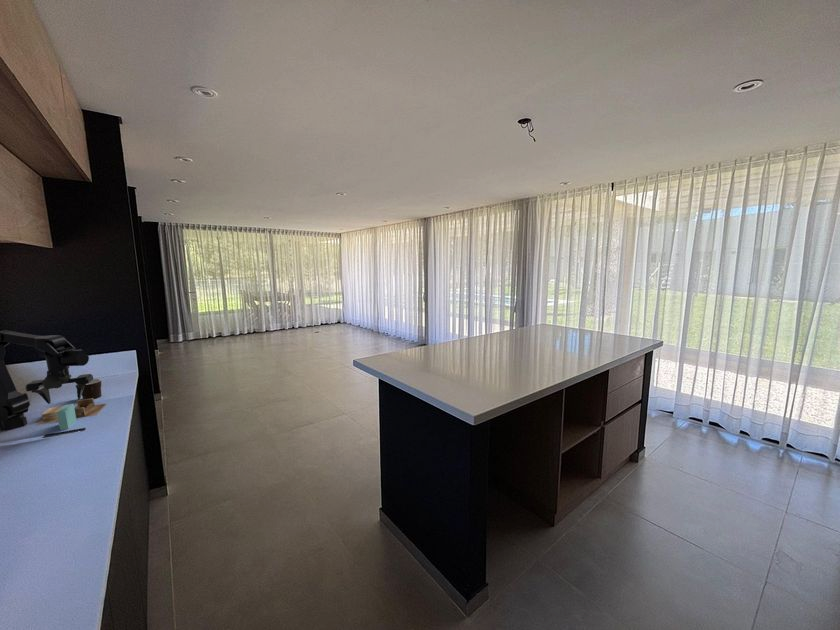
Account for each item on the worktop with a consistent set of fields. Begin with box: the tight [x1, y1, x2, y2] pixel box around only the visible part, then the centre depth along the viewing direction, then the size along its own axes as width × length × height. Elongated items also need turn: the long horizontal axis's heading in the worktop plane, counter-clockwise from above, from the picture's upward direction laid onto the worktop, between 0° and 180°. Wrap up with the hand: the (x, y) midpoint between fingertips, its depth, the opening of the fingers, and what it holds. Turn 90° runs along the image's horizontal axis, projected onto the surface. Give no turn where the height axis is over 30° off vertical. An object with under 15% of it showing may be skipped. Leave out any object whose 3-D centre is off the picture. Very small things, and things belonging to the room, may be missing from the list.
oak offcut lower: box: [42, 415, 58, 421], centre depth 150 cm, size 5×7×2 cm
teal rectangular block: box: [57, 403, 78, 432], centre depth 142 cm, size 2×8×9 cm, turn 28°
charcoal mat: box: [42, 427, 86, 439], centre depth 143 cm, size 12×11×1 cm
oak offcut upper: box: [41, 405, 65, 418], centre depth 150 cm, size 5×7×2 cm
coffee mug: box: [81, 378, 102, 400], centre depth 169 cm, size 12×9×10 cm
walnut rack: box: [34, 398, 108, 426], centre depth 153 cm, size 20×14×6 cm
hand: (64, 401), depth 141 cm, fingers open, 9 cm apart
